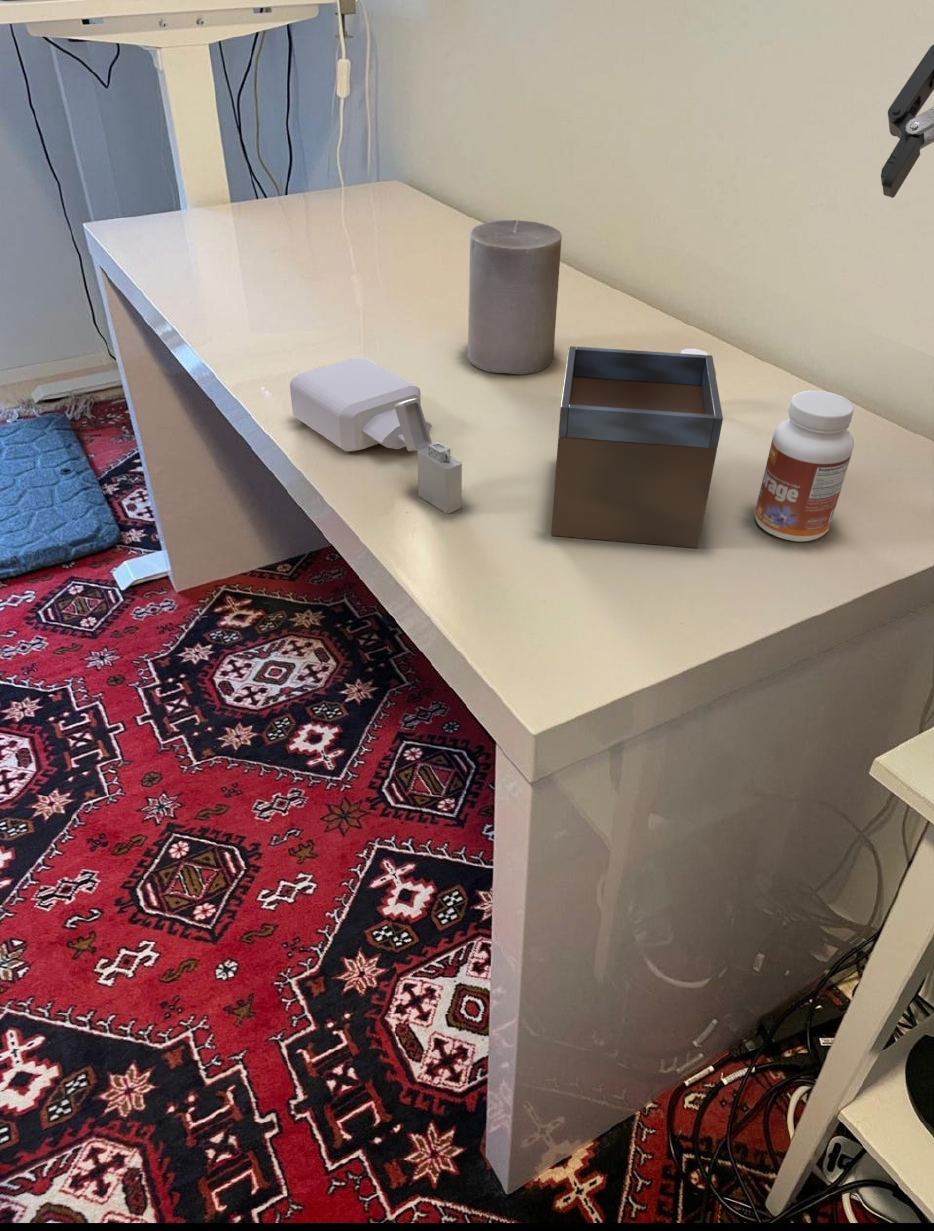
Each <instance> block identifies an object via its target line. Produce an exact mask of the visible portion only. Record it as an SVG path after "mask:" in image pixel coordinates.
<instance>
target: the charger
mask: <svg viewBox="0 0 934 1231" xmlns="http://www.w3.org/2000/svg"><path fill="white" fill-rule="evenodd" d="M289 392H290V399H291V401H290V402H291V410H292V411H291V412H292V415H293V417H294V418H296V419H297V420H299V421H300V422H302V423H303V424H305V425H306V426H308V427H309V428H310V429H311V430H313V431H315V433H318V434H319V435H321V436H322V437H324V438H325V439H327V440H328V441H330V442H331V443H332V444H333V445H335V446H337V447H338V448H339V449H341V450H342V451H345V452H355V451H360V450H361V451H362V450H364V449H365V450H366V449H367V448H370V447H373V446H376V445H378V444H381V446H384V447H385V448H388V449H394V450H400V449H403V448H407V447H406V444H405V440H404V437H403V434H402V430H401V427H400V423H399V420H398V417H397V413H396V410H395V405H396V404H398V403H401V402H404V401H407V400H411V399H416V398H417V399H419V401H420V404H421V403H422V401H421V389H420V388H419V387H418V385H415V384H413V383H411V382H409V381H408V380H406V379H404V378H403V377H401V376H399V375H397V374H396V373H394V372H392V371H390V370H388V369H386V368H384V367H383V366H381V365H380V364H378V363H376V362H374V361H372V360H371V359H369V358H367V357H365V356H357V357H352V358H349V359H346V360H342V361H339V362H335V363H331V364H328V365H325V366H321V367H318V368H314V369H311V370H307V371H304V372H301V373H298V374H297V375H296V376H293V378H292V379H291V381H290V382H289ZM425 422H426V425H427V428H428V432H429V433H430V431H431V429H432V427H433V425H432V424H431V423H430V422H429V421H427V420H425Z"/></svg>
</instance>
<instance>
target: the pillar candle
mask: <svg viewBox="0 0 934 1231" xmlns="http://www.w3.org/2000/svg"><path fill="white" fill-rule="evenodd" d="M562 237H563V235H562V232H561V231H560V230H558V229H557V228H555V227H553V226H551V225H548V224H545V223H541V222H538V221H529V220H520V219H517V220H516V219H507V220H491V221H487V222H484V223H481V224H478V225H475V226H474V227H473V228H472V229H471V230H470V232H469V262H468V263H469V264H468V266H469V267H468V268H469V269H468V270H469V271H468V273H469V275H468V321H467V324H468V325H467V326H468V328H467V359H468V361H469V363H470V364H471V365H473V366H475V368H477V369H479V370H483V371H485V372H487V373H493V374H496V373H497V374H510V375H511V374H512V375H529V374H534V373H537V372H540V371H543V370H544V369H546V368H548V367H549V366H550V364H551V363H552V362H553V360H554V358H555V341H556V340H555V339H556V324H557V309H558V294H559V281H560V279H559V278H560V267H561V266H560V265H561V251H562Z"/></svg>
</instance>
